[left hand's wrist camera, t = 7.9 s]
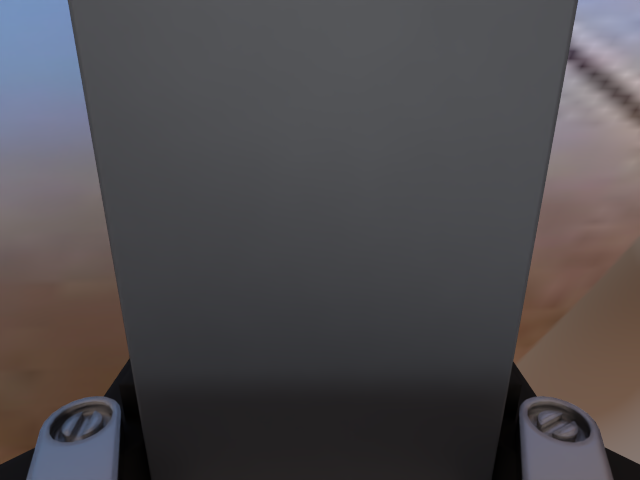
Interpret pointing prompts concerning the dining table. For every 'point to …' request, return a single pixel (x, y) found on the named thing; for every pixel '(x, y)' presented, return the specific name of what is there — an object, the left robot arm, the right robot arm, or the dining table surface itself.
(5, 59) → the dining table surface
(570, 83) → the dining table surface
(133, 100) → the beam
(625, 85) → the dining table surface
